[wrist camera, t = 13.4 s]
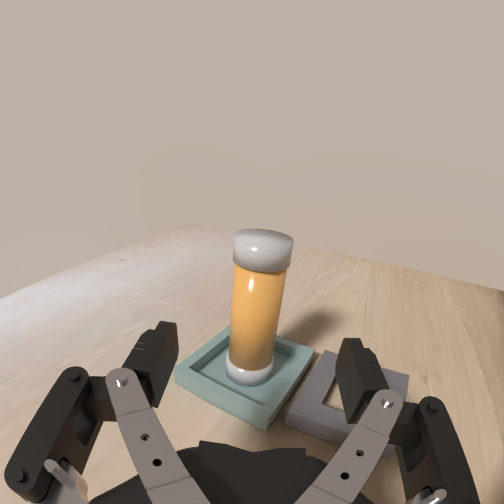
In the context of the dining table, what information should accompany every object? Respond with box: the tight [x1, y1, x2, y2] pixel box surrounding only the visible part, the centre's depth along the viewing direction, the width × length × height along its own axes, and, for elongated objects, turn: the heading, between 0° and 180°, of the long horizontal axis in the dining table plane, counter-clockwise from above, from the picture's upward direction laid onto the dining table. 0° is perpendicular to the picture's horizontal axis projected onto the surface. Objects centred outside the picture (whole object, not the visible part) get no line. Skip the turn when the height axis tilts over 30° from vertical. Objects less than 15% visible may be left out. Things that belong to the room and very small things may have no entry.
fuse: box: [226, 229, 293, 387], centre depth 25 cm, size 5×5×14 cm
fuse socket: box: [284, 350, 409, 459], centre depth 23 cm, size 10×10×2 cm
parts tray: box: [173, 325, 315, 431], centre depth 27 cm, size 11×10×2 cm
